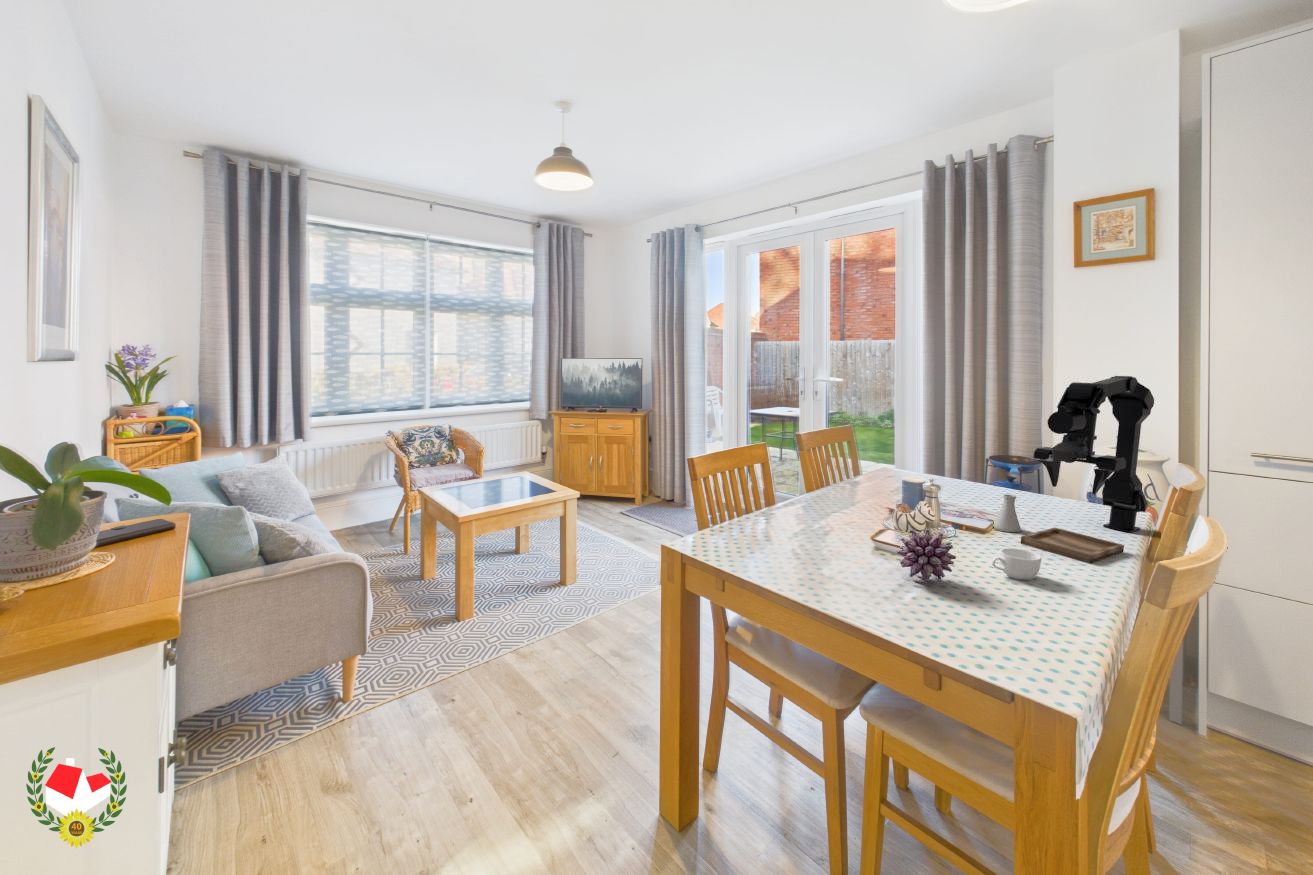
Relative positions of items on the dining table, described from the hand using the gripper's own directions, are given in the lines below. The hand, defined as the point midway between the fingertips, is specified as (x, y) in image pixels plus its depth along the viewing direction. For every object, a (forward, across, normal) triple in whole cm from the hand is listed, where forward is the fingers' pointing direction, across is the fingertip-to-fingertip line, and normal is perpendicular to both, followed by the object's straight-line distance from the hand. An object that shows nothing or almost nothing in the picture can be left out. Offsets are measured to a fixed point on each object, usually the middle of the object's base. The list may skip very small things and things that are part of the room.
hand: (1073, 490), depth 142 cm
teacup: (+15, +6, -35) cm, 38 cm away
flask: (+15, -15, -2) cm, 21 cm away
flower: (+15, -2, -55) cm, 57 cm away
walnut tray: (+15, +2, -3) cm, 15 cm away
